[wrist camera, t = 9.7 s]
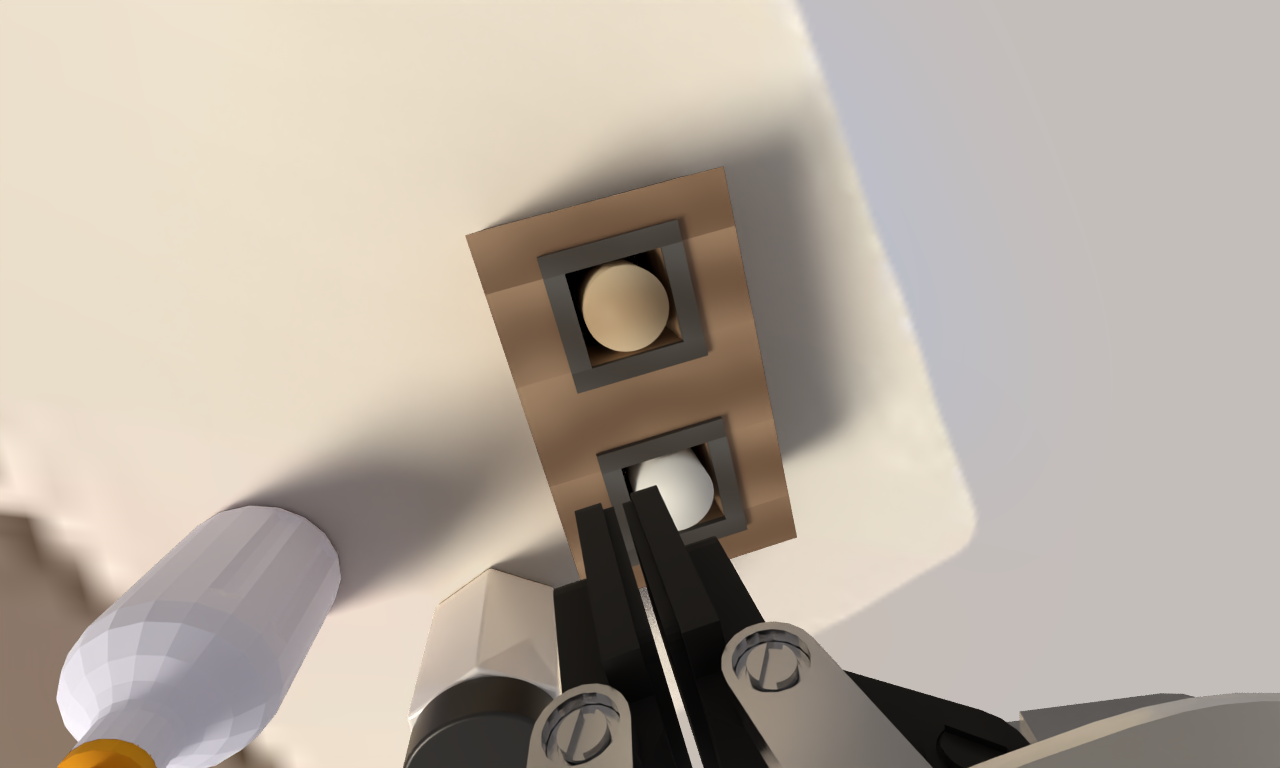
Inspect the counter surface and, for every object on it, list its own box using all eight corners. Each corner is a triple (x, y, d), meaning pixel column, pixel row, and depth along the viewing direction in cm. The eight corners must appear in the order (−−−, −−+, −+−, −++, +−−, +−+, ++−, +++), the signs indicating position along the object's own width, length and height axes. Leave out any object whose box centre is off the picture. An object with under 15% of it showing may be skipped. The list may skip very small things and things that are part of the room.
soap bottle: (235, 652, 39) (-225, 1324, 15) (151, 537, 36) (-569, 1144, 12) (368, 598, 39) (121, 1168, 16) (296, 479, 36) (-135, 960, 13)
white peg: (610, 422, 38) (629, 473, 30) (672, 404, 38) (704, 450, 31) (627, 479, 39) (648, 541, 32) (686, 460, 39) (720, 517, 32)
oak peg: (565, 264, 35) (572, 279, 27) (632, 246, 35) (657, 255, 28) (584, 331, 36) (596, 361, 28) (649, 312, 36) (677, 338, 29)
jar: (486, 698, 43) (468, 875, 31) (406, 624, 40) (355, 787, 29) (588, 624, 42) (608, 776, 31) (515, 545, 40) (507, 679, 28)
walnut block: (481, 230, 34) (464, 236, 26) (683, 176, 35) (725, 166, 27) (579, 530, 40) (589, 609, 32) (748, 477, 41) (799, 540, 33)
